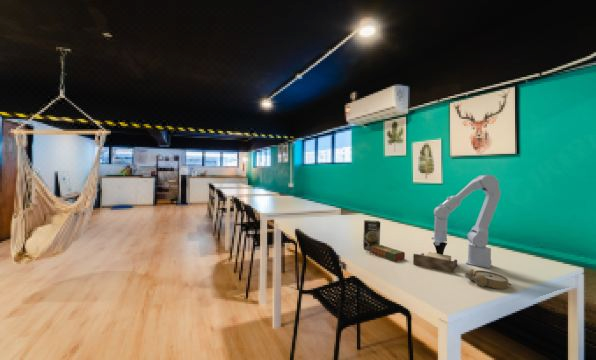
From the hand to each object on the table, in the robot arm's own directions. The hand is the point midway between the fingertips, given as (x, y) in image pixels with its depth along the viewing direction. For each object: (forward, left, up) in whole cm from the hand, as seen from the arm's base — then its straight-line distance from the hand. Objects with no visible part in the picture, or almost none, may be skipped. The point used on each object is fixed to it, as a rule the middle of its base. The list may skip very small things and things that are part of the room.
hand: (439, 256), depth 136 cm
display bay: (0, +8, -2) cm, 9 cm away
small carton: (0, +5, -2) cm, 6 cm away
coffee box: (+36, +2, -2) cm, 36 cm away
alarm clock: (-21, +20, -2) cm, 29 cm away
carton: (+23, +11, -2) cm, 26 cm away
